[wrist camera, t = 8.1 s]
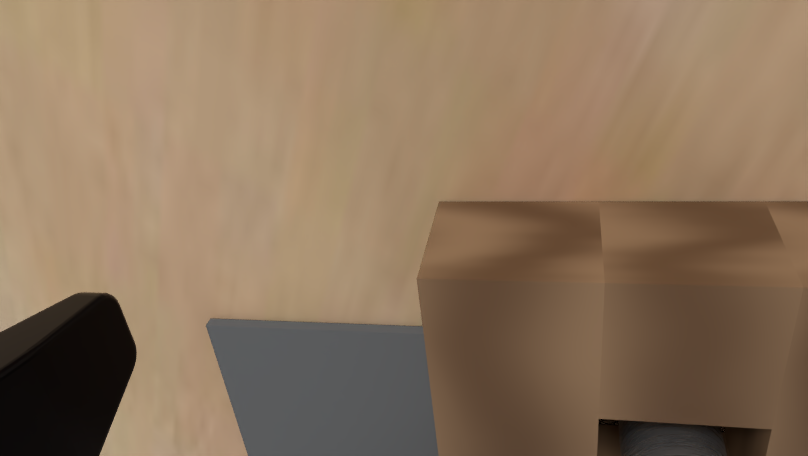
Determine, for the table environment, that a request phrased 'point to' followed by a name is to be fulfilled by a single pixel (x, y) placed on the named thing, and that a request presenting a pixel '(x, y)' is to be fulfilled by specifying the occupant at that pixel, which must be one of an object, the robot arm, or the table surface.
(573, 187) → the table surface
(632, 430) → the peg
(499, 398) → the hole block
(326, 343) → the panel
